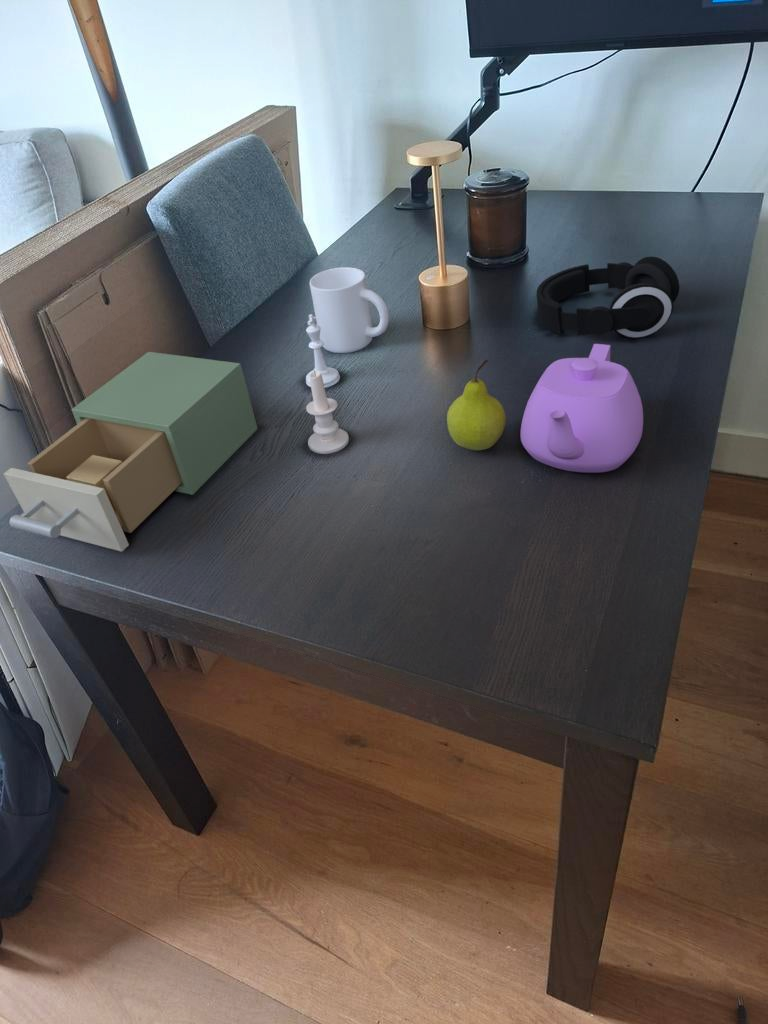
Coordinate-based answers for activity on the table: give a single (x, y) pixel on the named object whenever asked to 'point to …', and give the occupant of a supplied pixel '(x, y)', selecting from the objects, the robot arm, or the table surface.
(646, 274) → the headphones
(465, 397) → the fruit
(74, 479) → the block
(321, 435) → the candle
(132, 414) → the cabinet
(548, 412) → the teapot
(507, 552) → the table surface
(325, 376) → the chess piece
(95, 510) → the drawer
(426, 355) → the table surface
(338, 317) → the mug
